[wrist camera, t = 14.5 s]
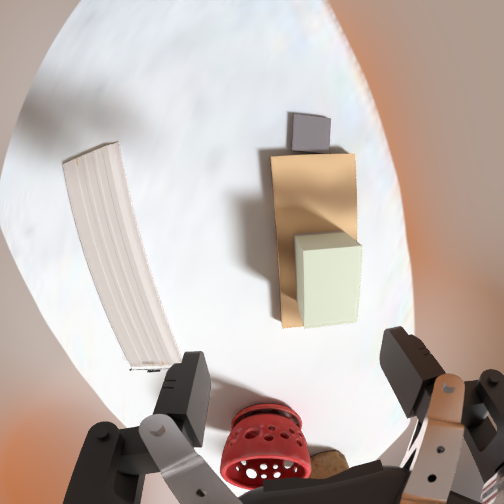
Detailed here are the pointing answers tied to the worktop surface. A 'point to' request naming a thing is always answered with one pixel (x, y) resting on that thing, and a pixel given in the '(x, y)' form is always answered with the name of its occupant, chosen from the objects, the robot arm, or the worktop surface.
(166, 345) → the baseboard
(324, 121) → the gray square tile
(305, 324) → the block
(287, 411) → the plant pot
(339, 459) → the block
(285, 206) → the oak board
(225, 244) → the worktop surface
